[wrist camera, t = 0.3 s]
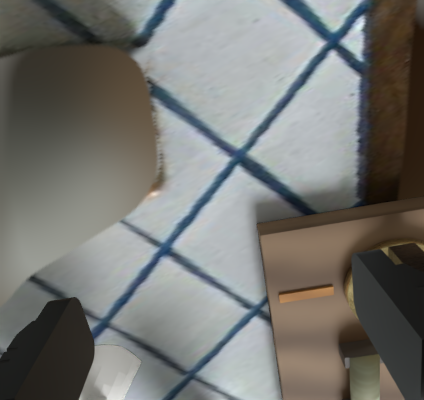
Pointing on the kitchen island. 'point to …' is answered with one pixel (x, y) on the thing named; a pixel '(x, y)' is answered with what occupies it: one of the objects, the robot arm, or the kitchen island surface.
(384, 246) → the wing knob
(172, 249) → the kitchen island surface
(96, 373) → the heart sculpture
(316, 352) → the knob and handle board
